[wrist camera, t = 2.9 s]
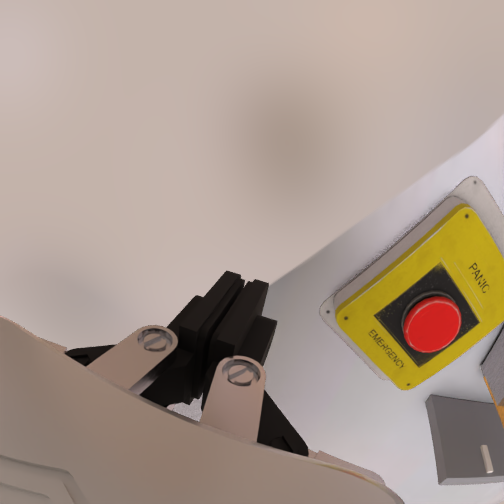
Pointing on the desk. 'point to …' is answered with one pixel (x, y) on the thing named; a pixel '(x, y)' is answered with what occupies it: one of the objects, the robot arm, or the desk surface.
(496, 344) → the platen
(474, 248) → the emergency button
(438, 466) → the frame
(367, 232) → the desk surface
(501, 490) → the desk surface
